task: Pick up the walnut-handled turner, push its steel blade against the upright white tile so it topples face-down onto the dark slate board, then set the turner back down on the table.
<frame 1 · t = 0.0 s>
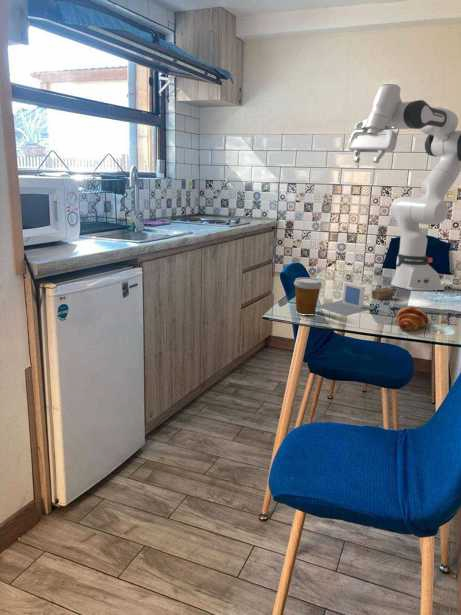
hand: (365, 162, 193), 52 cm above the table, tool tilted 20°, fingers open, 8 cm apart
croissant: (411, 326, 170), on the table
disposable coffee cup: (305, 314, 178), on the table
slate board: (345, 309, 186), on the table
tile: (352, 305, 188), point 1 cm above the table, touching slate board
turner: (381, 299, 203), on the table
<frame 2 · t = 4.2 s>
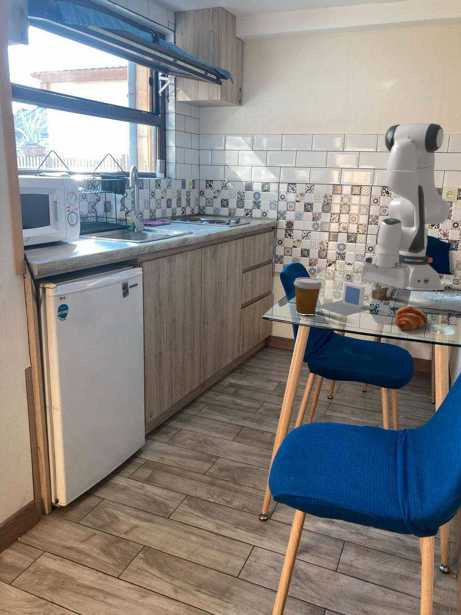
hand: (382, 295, 202), 2 cm above the table, tool pointing down, fingers closed on turner, 3 cm apart
turner: (381, 299, 203), on the table, touching gripper
everything else where it was.
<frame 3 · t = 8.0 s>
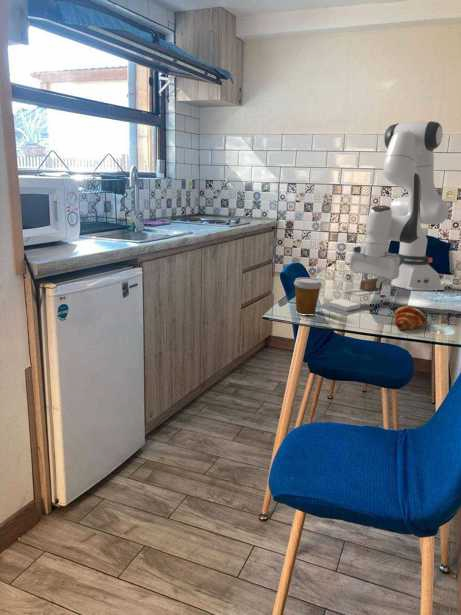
hand: (371, 286, 193), 7 cm above the table, tool pointing down, fingers closed on turner, 3 cm apart
tile: (351, 303, 187), point 2 cm above the table, tilted 90°, touching slate board
turner: (370, 290, 194), point 5 cm above the table, touching gripper
everything else where it was.
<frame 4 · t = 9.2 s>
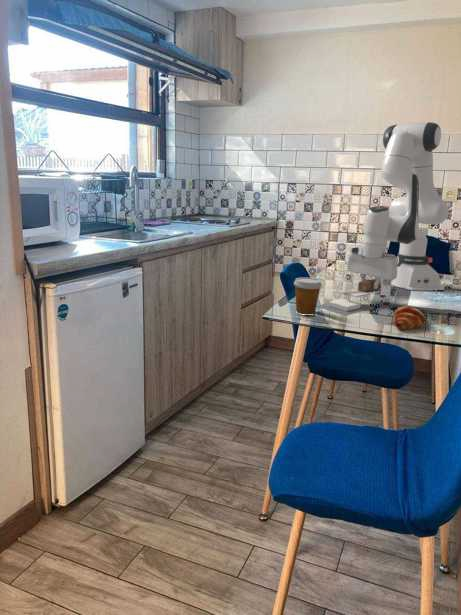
hand: (369, 287, 193), 7 cm above the table, tool pointing down, fingers closed on turner, 3 cm apart
turner: (368, 291, 193), point 5 cm above the table, touching gripper
everything else where it was.
when the fingers open (3 cm above the table, at t = 12.6 s): turner drops 1 cm, on the table.
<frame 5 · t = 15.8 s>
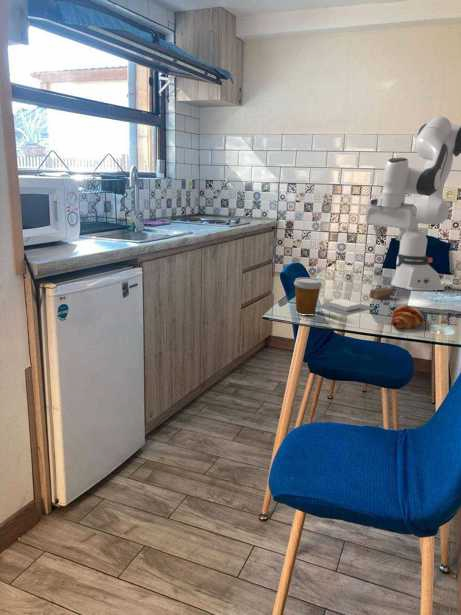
hand: (387, 238, 197), 24 cm above the table, tool pointing down, fingers open, 8 cm apart
turner: (380, 298, 203), on the table
at the end: tile tilted 90°; tile inside the target area (3.4 cm from its centre), point 1.7 cm above the table; turner on the table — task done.
